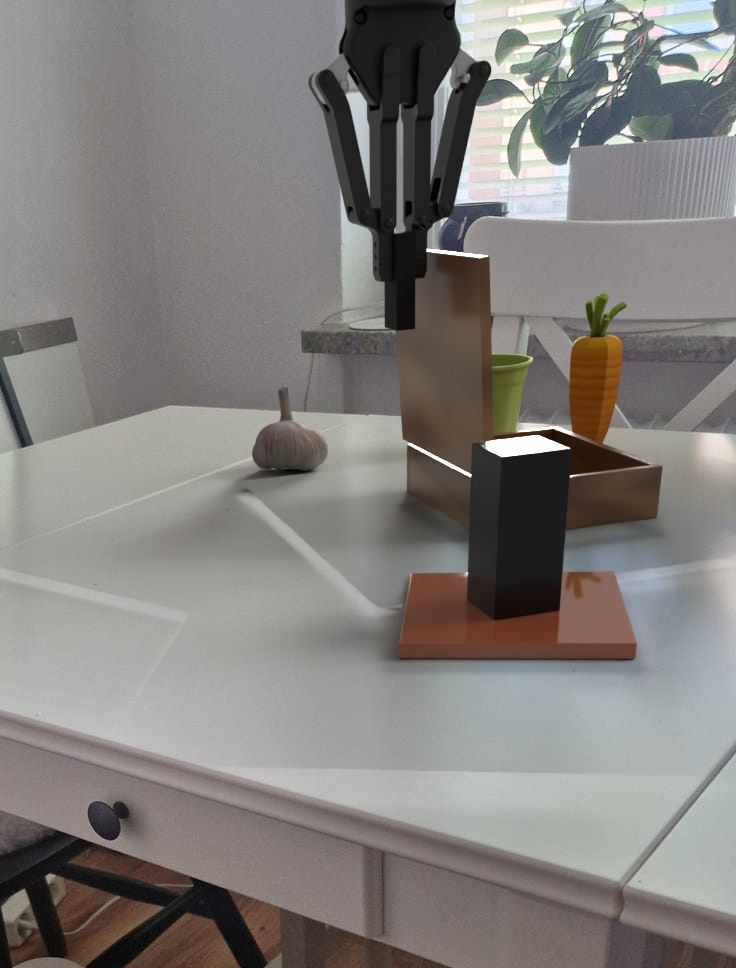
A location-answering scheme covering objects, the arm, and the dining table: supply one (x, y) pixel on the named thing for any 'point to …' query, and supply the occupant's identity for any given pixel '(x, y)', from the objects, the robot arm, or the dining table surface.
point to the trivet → (516, 622)
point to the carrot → (595, 373)
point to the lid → (448, 359)
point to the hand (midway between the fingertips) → (399, 327)
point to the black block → (517, 525)
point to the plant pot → (508, 389)
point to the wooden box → (592, 485)
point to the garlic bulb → (289, 442)
